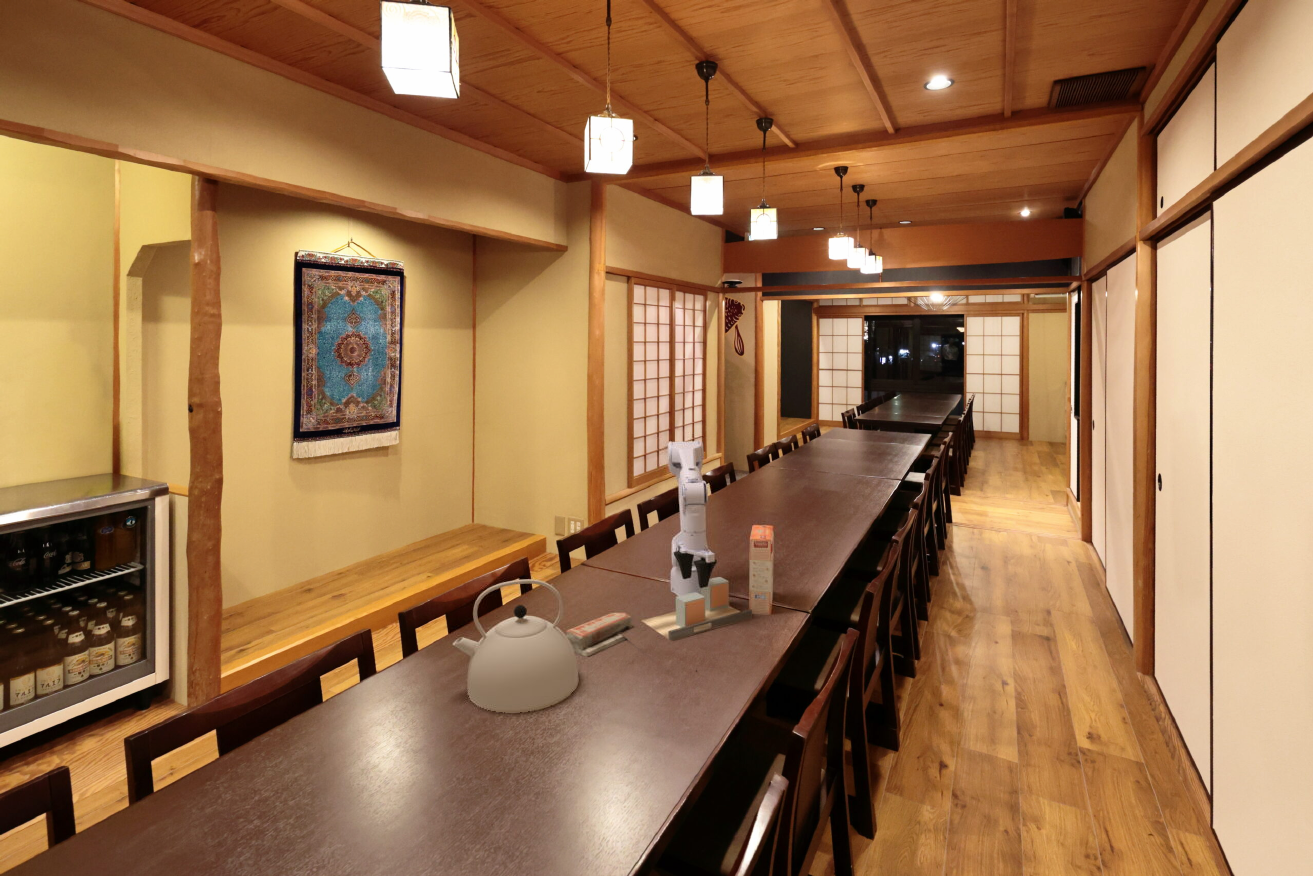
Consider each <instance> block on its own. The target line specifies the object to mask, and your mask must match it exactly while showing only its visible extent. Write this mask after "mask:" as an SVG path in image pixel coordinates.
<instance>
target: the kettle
mask: <svg viewBox="0 0 1313 876" xmlns="http://www.w3.org/2000/svg"><path fill="white" fill-rule="evenodd" d="M522 584H535V585H540V586H543V587H545V588H547V589H549V590H550V591H551V592H552V593H553V594H554V595H555V597H556V598H557V601H558V607H559V610H558V615H557V617H556V619H555V621H554V622H553V623H552V622H550V621H548V620H546V619H543V618H542V617H538V616H535V615H534V616H533V615H527V611H528V609H527V608H526V606H525V605H523V604H518V605H516V606H515V607H514V609H513V613H514V616H512V617H510V618H507V619H505V620H502V621H500V622H498V624H496V625H495V626H493V627H492V628H490V629H489V630H488V631H487V632H485V630H484V629H483V627H482V625H481V623H480V622H479V617H478V609H479V604H480V603H481V601H482V599H483V598H484V597H485V596H486V595H488V594H489V593H491V592H493V591H495V590H498V589H500V588H504V587H508V586H514V585H522ZM563 614H564V603H563V600H562V596H561V594H560V592H559V591H558V590H557V589H556V588H555V587H554V586H552V585H551V584H549V583H547V582H545V581H543V580H539V579H532V578H531V579H530V578H528V579H517V580H510V581H505V582H504V581H503V582H500V583H498V584H495V585H492V586H490V587H488V588H487V589H486V590H484V591H482V592H481V593H480V595H478V597H477V599H476V600H475V602H474V605H473V611H472V616H473V621H474V625H475V627H476V629H477V630H478V632H479V633H480V635H481V636H482V637H481V638H480V640H479V641H475V640H472V639H470V638H466V637H462V636H461V637H459V638H457V639H456V640H454V641H453V643H452V646H454V647H456V648H457V649H458V650H460V651H461V652H463V653H464V654H466V655H468V656H469V657H470V658H469V663H468V668H467V676H466V677H467V690H468V691H467V690H466V691H467V692H468V693H467V696H468V695H469V697H468V699H469V698H470V699H469V701H470V700H471V701H472V702H473V703H475V704H476V705H477V706H476V705H475V704H474V705H475V706H476V707H478V706H479V707H478V708H480V707H481V708H480V709H482V708H484V709H483V710H485V709H487V710H486V711H488V710H491V711H490V712H492V711H496V712H495V713H499V712H503V713H502V714H519V713H520V712H522V713H528V711H530V712H535V711H538V710H543V709H546V708H548V707H552V706H553V705H556V704H558V703H560V702H562V701H564V700H565V699H566V698H568V697H570V696H571V695H572V694H571V693H572V692H573V691H574V692H575V690H576V689H577V688H578V685H579V680H580V678H579V669H578V661H577V656H576V652H574V649H573V647H572V645H571V643H570V641H569V639H568V638H567V637H566V633H564V631H562V630H561V629H560V628H559V627H557V626H558V625H559V623H560V621H561V619H562V617H563ZM574 692H573V693H574ZM471 701H470V702H471ZM472 702H471V703H472ZM473 703H472V704H473ZM551 705H552V706H551ZM534 710H535V711H534ZM504 712H505V713H504ZM520 714H521V713H520Z"/></svg>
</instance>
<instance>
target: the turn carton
mask: <svg viewBox="0 0 1313 876" xmlns="http://www.w3.org/2000/svg"><path fill="white" fill-rule="evenodd" d="M675 612H676V625H678V626H679V627H681V628H682V627H685V626H689V625H693V624H696V623H700V622H704V621H705V597H704V596H702V595H700V594H699V593H697V592H694V593H690V594H686V595H682V596H675Z"/></svg>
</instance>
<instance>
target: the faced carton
mask: <svg viewBox="0 0 1313 876" xmlns="http://www.w3.org/2000/svg"><path fill="white" fill-rule="evenodd" d="M729 584H730V581H729V580H727V579H725V578H723V577H721V576H718V577H711V578H710V579H709V583H708V587H704V588H701V595H702V596H704V597H705V609H706V610H708V611H710V612H711V611H715V610H719V609H723V608H727V607H729V606H730V585H729Z"/></svg>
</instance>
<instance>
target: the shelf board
mask: <svg viewBox="0 0 1313 876" xmlns="http://www.w3.org/2000/svg"><path fill="white" fill-rule="evenodd" d="M750 619H753V614H752V610H751V609H749V608H748V609H745V610H742V611H740V610H738V609H736V608H734V607H732V606H730V605H729V607H727V608H723V609H719V610H715V611H711V612H710V611H708V610H706V609H705V621H704V622H700V623H696V624H693V625H689V626H685V627H682V628H681V627H679V626H678V625H676V611H673V612H669V613H666V614H661V615H657V616H653V617H650V618H646V619H641V622H643V623H644V624H645V625H647V626H648V627H650V628H651V629H653V630H654V631H656V632H657V633H659V634H660V635H662V636H663V637H664V638H666V639H667V640H669V641H675V640H679V639H682V638H687V637H690V636H693V635H697V634H700V633H704V632H706V631H711V630H714V629H718V628H722V627H725V626H728V625H732V624H736V623H739V622H743V621H747V620H750Z"/></svg>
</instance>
